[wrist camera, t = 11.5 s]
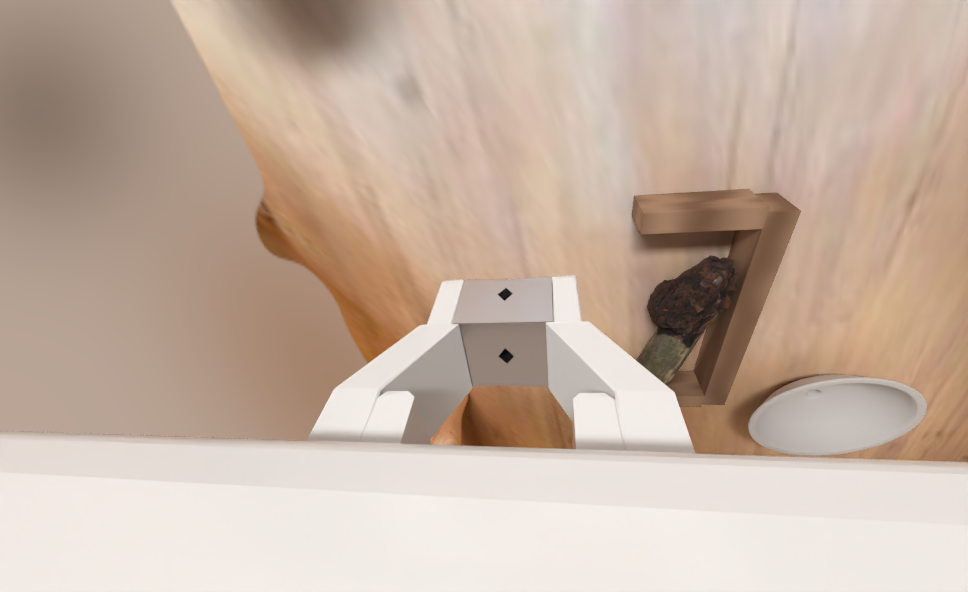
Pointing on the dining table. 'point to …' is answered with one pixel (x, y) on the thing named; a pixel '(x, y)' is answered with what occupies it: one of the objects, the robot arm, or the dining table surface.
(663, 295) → the metal pipe
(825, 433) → the dish
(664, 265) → the dining table surface
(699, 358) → the walnut cradle
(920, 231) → the dining table surface
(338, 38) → the dining table surface
